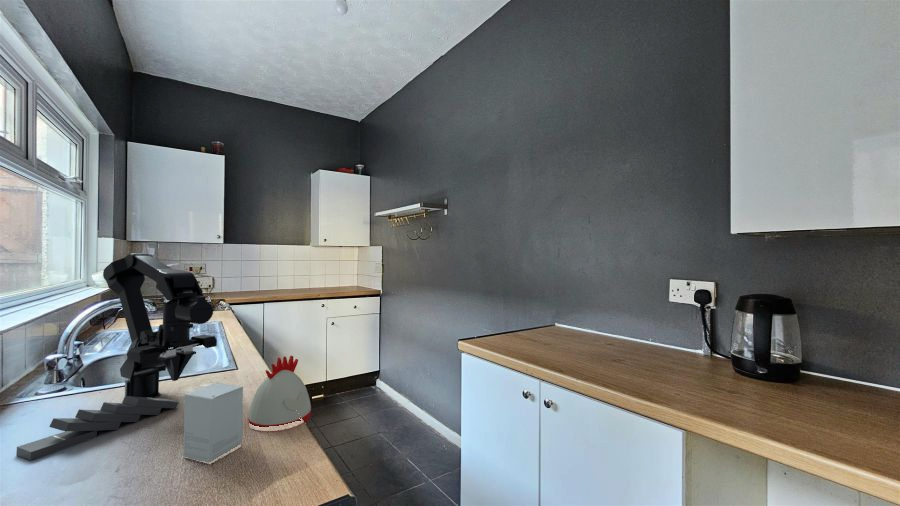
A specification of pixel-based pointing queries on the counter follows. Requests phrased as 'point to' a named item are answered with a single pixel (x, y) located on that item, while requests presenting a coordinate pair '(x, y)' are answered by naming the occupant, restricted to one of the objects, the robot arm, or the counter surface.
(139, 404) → the domino
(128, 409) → the domino
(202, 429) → the supplement box
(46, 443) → the domino
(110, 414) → the domino
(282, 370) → the grey chicken figure
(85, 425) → the domino
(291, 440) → the counter surface
